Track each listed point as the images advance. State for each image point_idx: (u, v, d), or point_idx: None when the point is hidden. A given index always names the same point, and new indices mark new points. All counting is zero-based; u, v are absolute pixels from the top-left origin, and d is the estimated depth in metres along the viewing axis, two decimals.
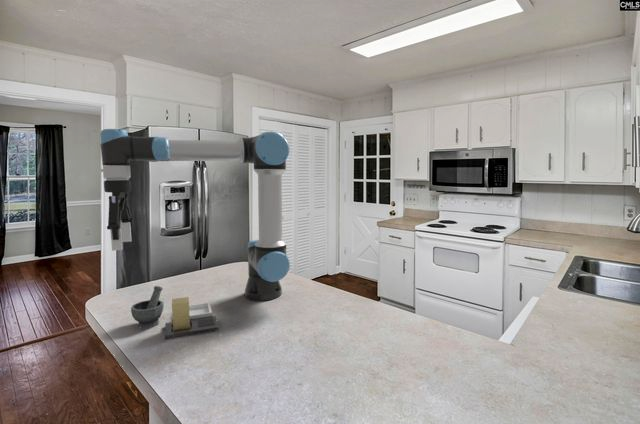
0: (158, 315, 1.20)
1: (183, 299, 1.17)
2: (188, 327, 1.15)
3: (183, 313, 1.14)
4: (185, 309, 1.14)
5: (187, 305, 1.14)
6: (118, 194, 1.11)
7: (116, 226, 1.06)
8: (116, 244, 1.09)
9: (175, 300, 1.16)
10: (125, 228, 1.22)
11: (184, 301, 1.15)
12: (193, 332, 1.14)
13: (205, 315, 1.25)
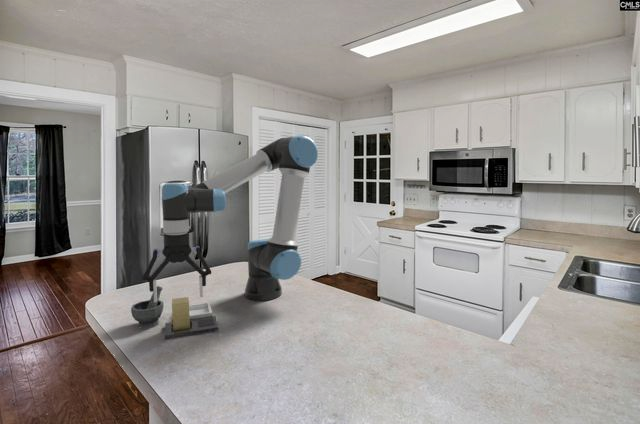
0: (158, 315, 1.20)
1: (183, 299, 1.17)
2: (188, 327, 1.15)
3: (183, 313, 1.14)
4: (185, 309, 1.14)
5: (187, 305, 1.14)
6: (164, 248, 1.12)
7: None
8: (154, 295, 1.13)
9: (175, 300, 1.16)
10: (199, 282, 1.17)
11: (184, 301, 1.15)
12: (193, 332, 1.14)
13: (205, 315, 1.25)
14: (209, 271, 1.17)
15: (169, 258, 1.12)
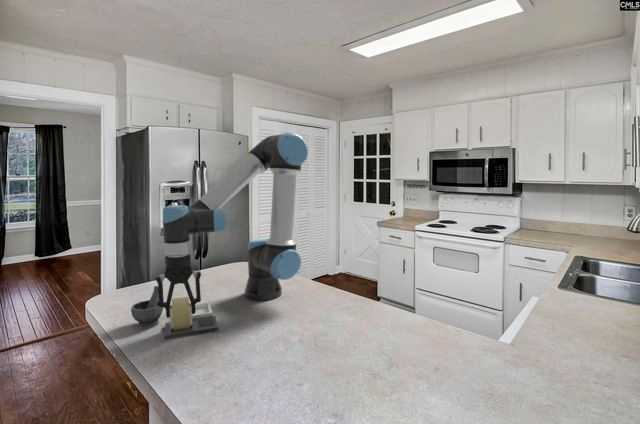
0: (158, 315, 1.20)
1: (183, 299, 1.17)
2: (188, 327, 1.15)
3: (183, 313, 1.14)
4: (185, 309, 1.14)
5: (187, 305, 1.14)
6: None
7: None
8: None
9: (175, 300, 1.16)
10: (189, 310, 1.17)
11: (184, 301, 1.15)
12: (193, 332, 1.14)
13: (205, 315, 1.25)
14: (199, 299, 1.17)
15: (173, 281, 1.13)
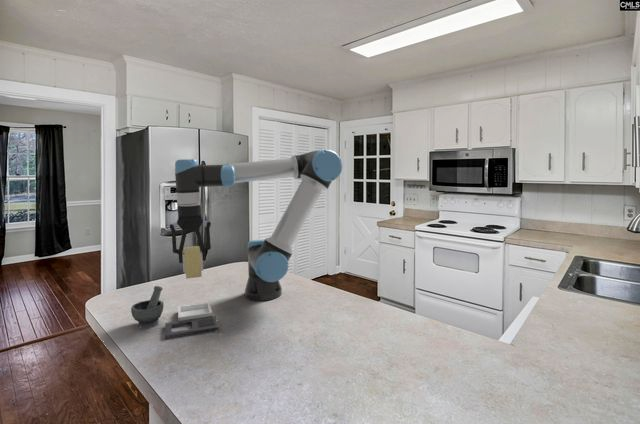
0: (158, 315, 1.20)
1: (194, 247, 1.26)
2: (199, 272, 1.25)
3: (194, 259, 1.24)
4: (197, 255, 1.24)
5: (198, 251, 1.24)
6: (177, 220, 1.22)
7: (173, 251, 1.22)
8: (183, 267, 1.25)
9: (187, 247, 1.26)
10: None
11: (195, 248, 1.25)
12: (193, 332, 1.14)
13: (205, 315, 1.25)
14: (209, 247, 1.27)
15: (185, 228, 1.23)
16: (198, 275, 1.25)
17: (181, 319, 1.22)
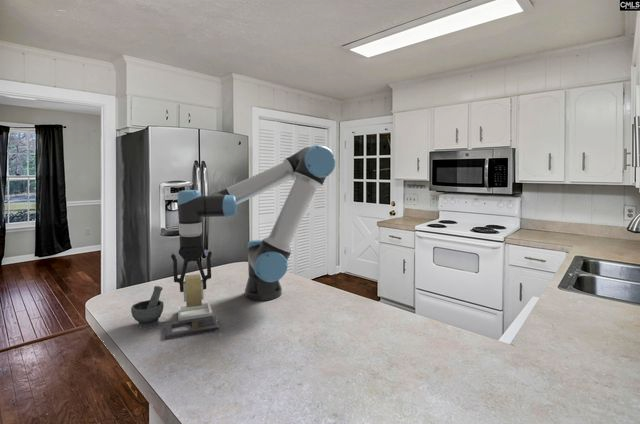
0: (158, 315, 1.20)
1: (195, 275, 1.28)
2: (200, 301, 1.27)
3: (195, 288, 1.25)
4: (198, 284, 1.26)
5: (199, 281, 1.26)
6: None
7: (174, 281, 1.24)
8: None
9: (188, 276, 1.27)
10: None
11: (196, 277, 1.26)
12: (193, 332, 1.14)
13: (205, 315, 1.25)
14: (210, 276, 1.28)
15: (187, 258, 1.24)
16: (198, 304, 1.26)
17: (181, 319, 1.22)
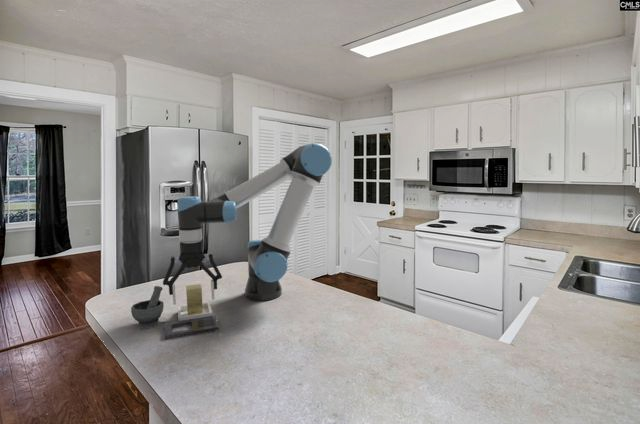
0: (158, 315, 1.20)
1: (196, 286, 1.29)
2: (201, 311, 1.27)
3: (196, 298, 1.26)
4: (199, 295, 1.26)
5: (200, 291, 1.26)
6: (180, 255, 1.24)
7: (163, 283, 1.23)
8: (173, 298, 1.26)
9: (189, 287, 1.28)
10: (211, 285, 1.30)
11: (197, 287, 1.27)
12: (193, 332, 1.14)
13: (205, 315, 1.25)
14: (220, 276, 1.29)
15: (185, 264, 1.24)
16: None
17: (181, 319, 1.22)
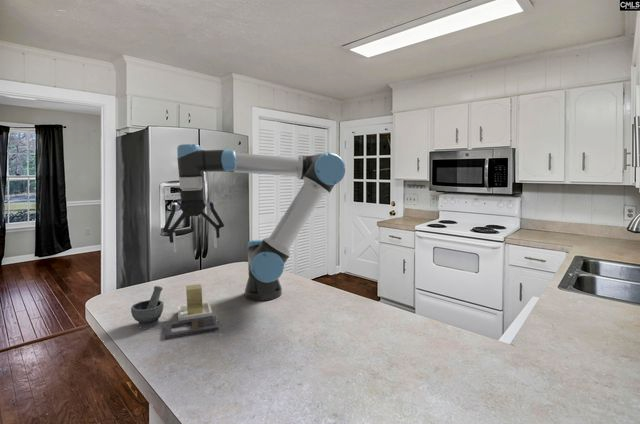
0: (158, 315, 1.20)
1: (196, 286, 1.29)
2: (201, 311, 1.27)
3: (196, 298, 1.26)
4: (199, 295, 1.26)
5: (200, 291, 1.26)
6: (181, 203, 1.24)
7: None
8: None
9: (189, 287, 1.28)
10: (213, 234, 1.30)
11: (197, 287, 1.27)
12: (193, 332, 1.14)
13: (205, 315, 1.25)
14: (222, 224, 1.30)
15: (186, 212, 1.24)
16: None
17: (181, 319, 1.22)
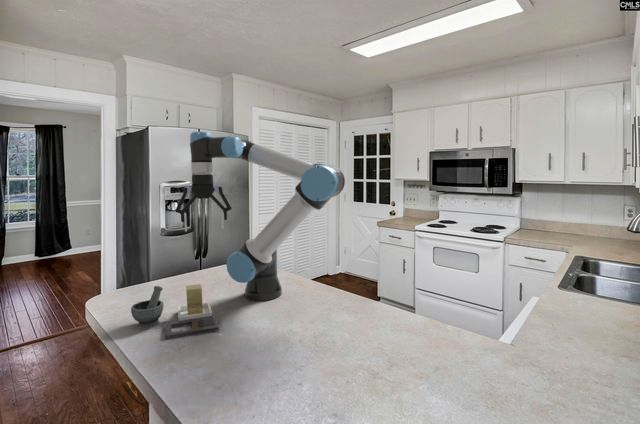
0: (158, 315, 1.20)
1: (196, 286, 1.29)
2: (201, 311, 1.27)
3: (196, 298, 1.26)
4: (199, 295, 1.26)
5: (200, 291, 1.26)
6: (192, 186, 1.34)
7: None
8: None
9: (189, 287, 1.28)
10: (221, 216, 1.40)
11: (197, 287, 1.27)
12: (193, 332, 1.14)
13: (205, 315, 1.25)
14: (229, 207, 1.40)
15: (197, 194, 1.35)
16: None
17: (181, 319, 1.22)
